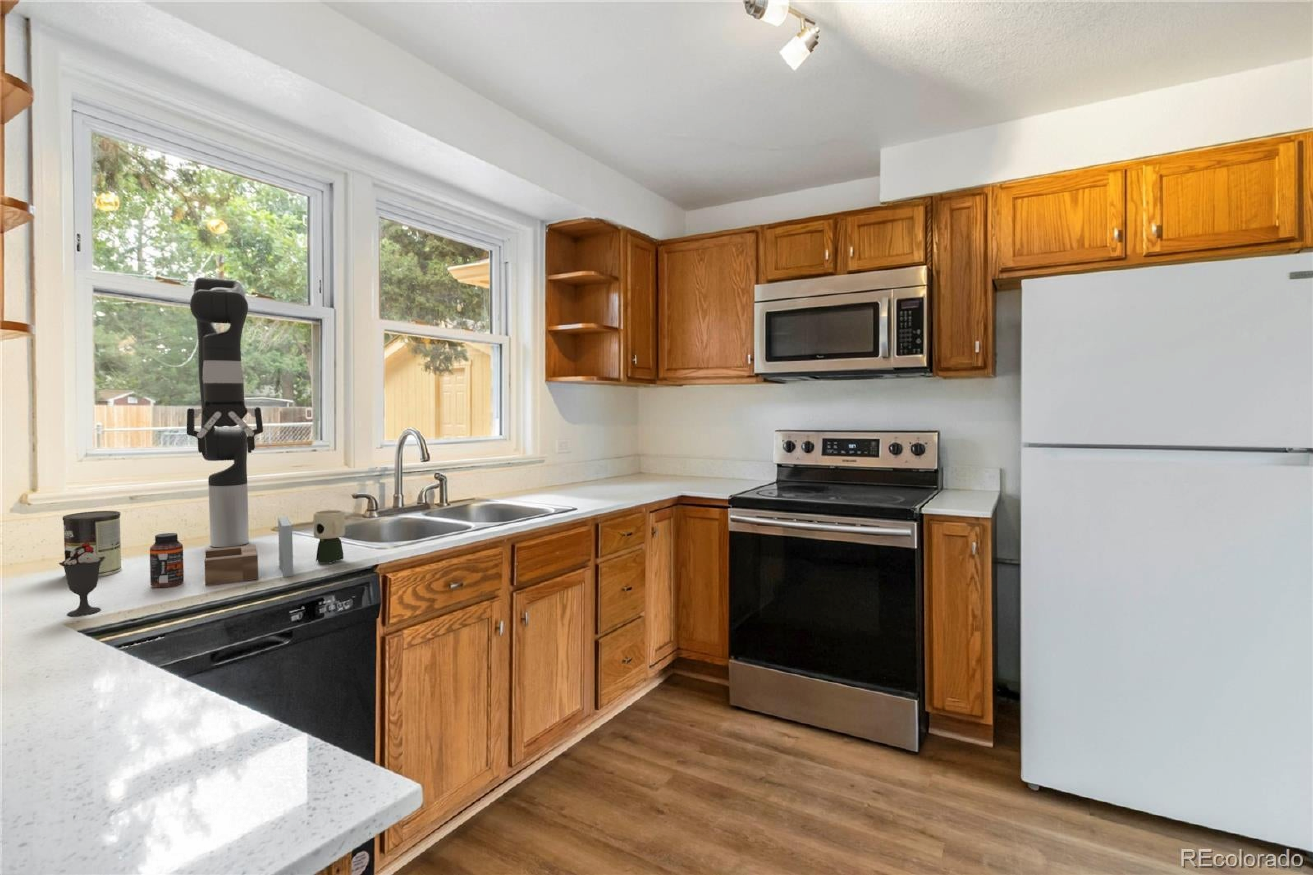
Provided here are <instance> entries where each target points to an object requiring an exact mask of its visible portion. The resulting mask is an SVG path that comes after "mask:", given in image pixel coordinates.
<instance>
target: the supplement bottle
mask: <svg viewBox="0 0 1313 875" xmlns="http://www.w3.org/2000/svg"><path fill="white" fill-rule="evenodd" d="M178 539H179V538H178V533H177V532H176V533H175V532H165V533H158V534H156V535H155V536H154V541H155V542H154V543H153V545H151V546H150V547H149V573H150V574H149V575H150V576H149V577H150V578H149V579H150V582H149V583H150V586H151V587H154V588H170V587H174V586H178V585H181V584H182V583H183V582H184V578H185V577H184V576H185V575H184V574H185V570H184V545H183V544H182V543H181V542H180V541H179V540H178Z"/></svg>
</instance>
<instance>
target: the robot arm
mask: <svg viewBox="0 0 1313 875" xmlns="http://www.w3.org/2000/svg"><path fill="white" fill-rule="evenodd" d="M192 291H193V294H192V295H191V298H190V300H189V308H190V311H191V314H192V316H193V317H194V318H195V320H196V330H197V343H198V345H197V346H198V348H197V349H198V351H197V352H198V354H197V355H198V364H197V365H198V381H199V392H200V403H201V404H200V406H201V407H200V408H193V407H190V408H187V410H186V435H187V436H191V437H194V438H196V440H197V450H198V452H199V453H201V454H202V458H203V459H204V460H205V461H207V462H210V461H211V462H217V461H219V462H220V461H222V462H223V461H233V464H232V465H230V466H229V467H228V468H226V469H224V470H220V471H217V472H215V473H212V474H210V475H209V476H208V479H207V480H208V481H207V482H208V505H209V508H208V510H209V514H208V516H209V545H210V547H213V548H226V547H236V546H244V545H246V544H247V545H248V544H249V542H250V541H249V540H250V537H249V536H250V535H249V531H250V530H249V529H250V528H249V498H248V497H249V496H248V470H247V469H248V468H247V467H248V466H247V464H248V462H247V461H248V457H247V456H248V454H251V453H252V452H253V451H255V449H256V445H255V441H256V440H255V437H256V435H259V434H262V433H263V432H264V424H263V417H262V410H261V409H262V408H261V407H259V406H257V407H246V405H245V387H244V386H245V384H244V382H245V381H244V380H245V378H244V371H243V366H242V351H241V349H242V347H241V342H242V336H243V335H242V334H243V328H244V325H245V323H246V319H247V316H248V311H249V304H248V301H247V299H246V293H245V288H244V286H243V285H242V283H241V282H239V281H236V280H233V279H225V278H216V277H201V276H199V277H197V278H195V280H194V282H193V289H192ZM214 324H229V328H228V329H227V330H225V331H222V332H218V331H217V329H216V328H215V325H214ZM248 413H249V414H250V415H251V417H252V418H255V424H256V428H254V429H252V428H251V427H250V426H249V425H248V424H247V423H246V422H245V421H244V420H243V419H244V418H245V416H246V415H247V414H248ZM200 415H201V418H200V419H201V422H200V427H201V428H200V430H199V431H198V430H195V424H196V422H195V420H196V419H198V418H199V417H200ZM237 426H239V427H237Z"/></svg>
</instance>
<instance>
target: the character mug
mask: <svg viewBox="0 0 1313 875" xmlns="http://www.w3.org/2000/svg"><path fill="white" fill-rule="evenodd" d="M345 534H346V513H345V510H342V509H329V510H328V509H326V510H325V509H324V510H318V511H314V512H313V538H314V539H319V541H318V543H317V551H316V558H315V562H317V563H319V564H334V562H337V561H341V560H344V558H345V556H344V551H343V543H342V540H341V537H344V536H345Z"/></svg>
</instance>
